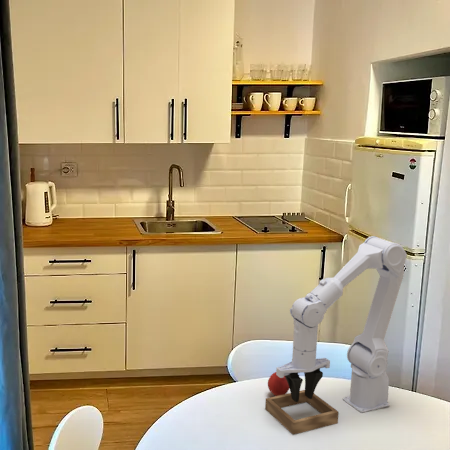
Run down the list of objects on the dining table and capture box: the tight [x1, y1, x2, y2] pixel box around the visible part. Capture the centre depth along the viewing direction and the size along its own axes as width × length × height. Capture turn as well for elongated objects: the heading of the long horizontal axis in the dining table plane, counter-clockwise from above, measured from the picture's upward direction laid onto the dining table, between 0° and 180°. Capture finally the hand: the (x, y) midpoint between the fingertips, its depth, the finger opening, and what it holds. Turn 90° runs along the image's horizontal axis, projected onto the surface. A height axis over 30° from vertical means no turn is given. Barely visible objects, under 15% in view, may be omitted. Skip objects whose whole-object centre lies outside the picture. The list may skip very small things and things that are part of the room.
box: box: [264, 389, 340, 436], centre depth 147 cm, size 13×13×3 cm
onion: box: [267, 371, 290, 397], centre depth 156 cm, size 6×6×8 cm
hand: (301, 398), depth 146 cm, fingers open, 3 cm apart
